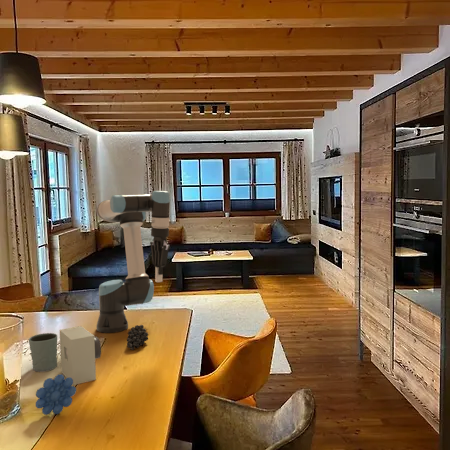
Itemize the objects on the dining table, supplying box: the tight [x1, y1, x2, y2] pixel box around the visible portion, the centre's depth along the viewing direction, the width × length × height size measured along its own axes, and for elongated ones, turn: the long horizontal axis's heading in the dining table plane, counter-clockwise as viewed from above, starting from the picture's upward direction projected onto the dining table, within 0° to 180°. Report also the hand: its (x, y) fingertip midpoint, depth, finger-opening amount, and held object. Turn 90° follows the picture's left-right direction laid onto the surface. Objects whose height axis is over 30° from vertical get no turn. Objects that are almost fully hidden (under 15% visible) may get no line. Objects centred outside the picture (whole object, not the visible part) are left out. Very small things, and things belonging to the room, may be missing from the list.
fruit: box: [126, 324, 149, 351], centre depth 199 cm, size 9×8×15 cm
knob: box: [66, 336, 102, 360], centre depth 169 cm, size 8×11×8 cm
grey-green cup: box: [28, 332, 58, 372], centre depth 176 cm, size 10×10×12 cm
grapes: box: [35, 373, 77, 416], centre depth 139 cm, size 12×7×12 cm, turn 107°
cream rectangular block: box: [59, 325, 97, 386], centre depth 168 cm, size 15×8×16 cm, turn 35°
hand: (158, 281), depth 199 cm, fingers closed
